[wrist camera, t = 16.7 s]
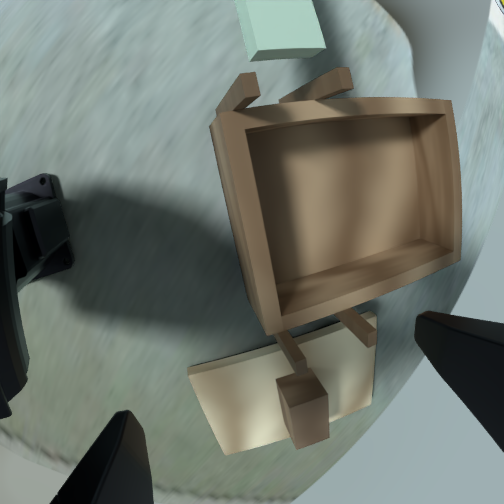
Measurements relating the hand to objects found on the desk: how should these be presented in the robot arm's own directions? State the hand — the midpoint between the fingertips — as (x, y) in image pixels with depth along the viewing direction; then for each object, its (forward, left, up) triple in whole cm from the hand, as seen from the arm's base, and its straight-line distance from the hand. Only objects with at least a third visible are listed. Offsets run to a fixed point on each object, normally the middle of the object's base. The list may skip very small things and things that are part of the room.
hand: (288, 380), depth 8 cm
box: (+9, +2, -13) cm, 16 cm away
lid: (+3, -14, -13) cm, 19 cm away
